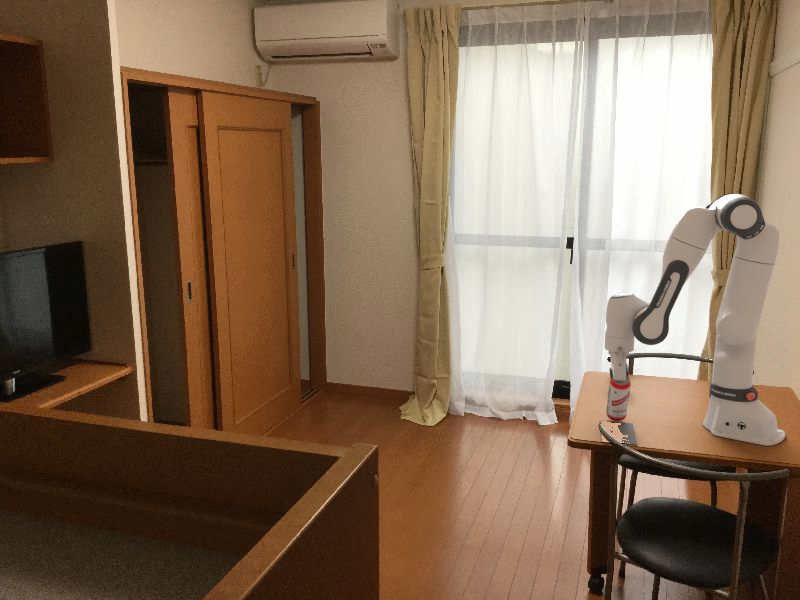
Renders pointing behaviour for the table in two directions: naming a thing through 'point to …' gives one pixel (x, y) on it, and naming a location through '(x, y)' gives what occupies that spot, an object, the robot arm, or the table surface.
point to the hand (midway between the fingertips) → (617, 386)
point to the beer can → (618, 399)
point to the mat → (627, 433)
